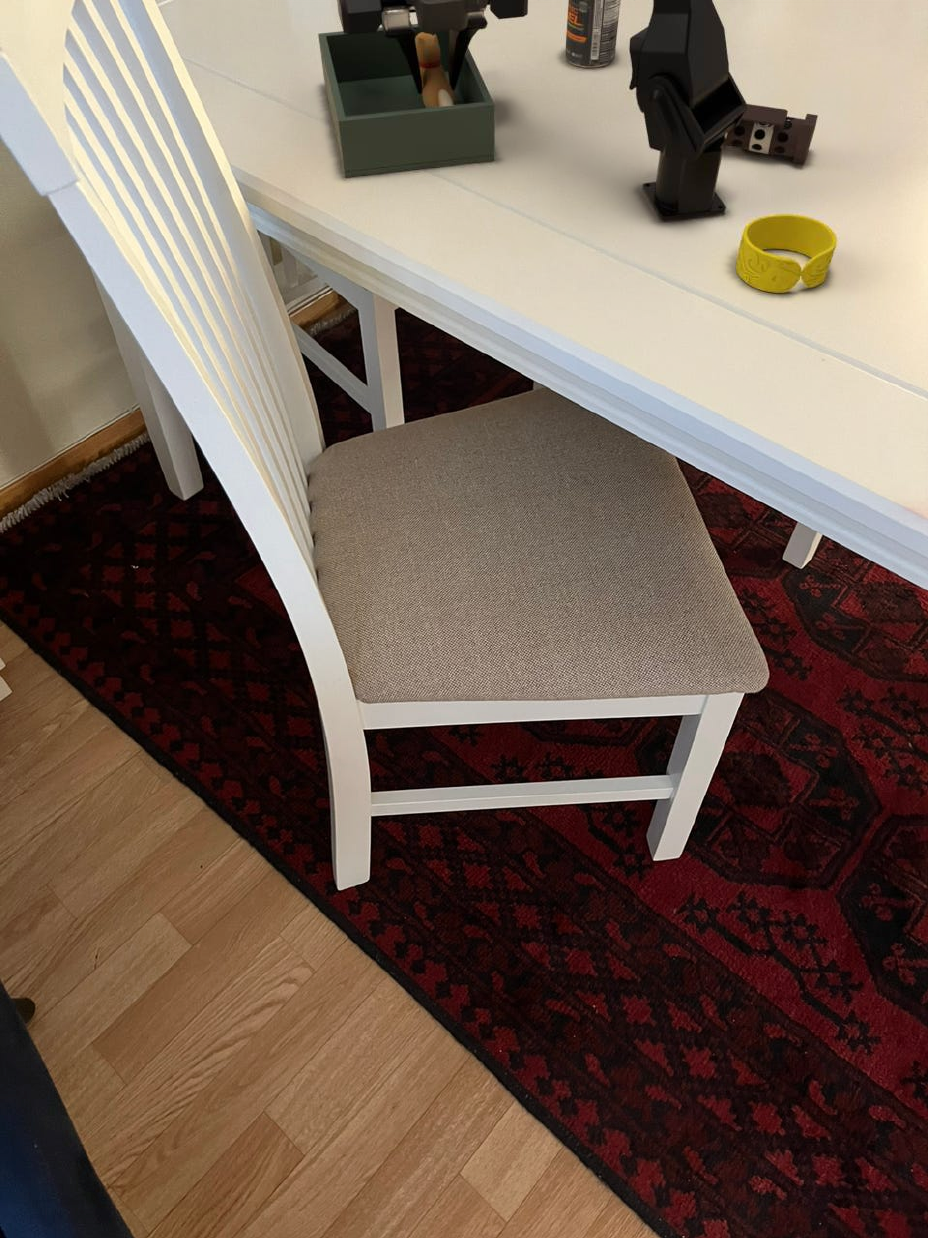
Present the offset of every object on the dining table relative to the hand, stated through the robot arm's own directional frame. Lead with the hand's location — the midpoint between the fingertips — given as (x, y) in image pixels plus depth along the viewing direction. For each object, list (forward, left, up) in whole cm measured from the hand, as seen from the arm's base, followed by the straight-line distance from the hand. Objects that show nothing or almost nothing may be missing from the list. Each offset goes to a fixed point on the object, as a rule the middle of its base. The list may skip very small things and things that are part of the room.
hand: (435, 90), depth 101 cm
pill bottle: (+11, -20, -3) cm, 23 cm away
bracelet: (-36, -24, -4) cm, 44 cm away
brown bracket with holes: (-17, -36, -3) cm, 40 cm away
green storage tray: (0, +4, -3) cm, 5 cm away
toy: (0, 0, -1) cm, 1 cm away
